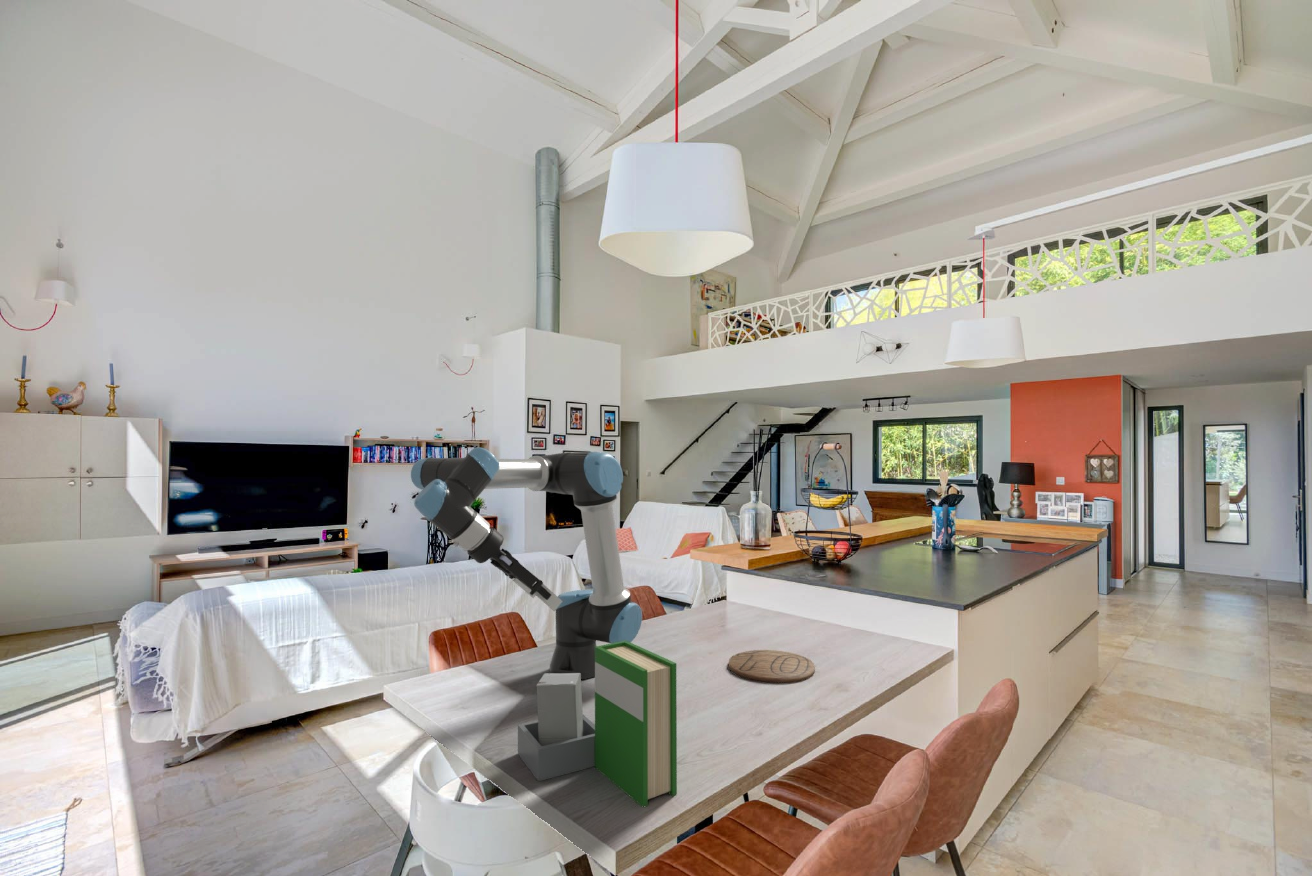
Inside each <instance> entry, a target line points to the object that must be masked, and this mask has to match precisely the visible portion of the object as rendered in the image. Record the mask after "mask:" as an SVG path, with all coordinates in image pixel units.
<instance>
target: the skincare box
mask: <svg viewBox="0 0 1312 876" xmlns="http://www.w3.org/2000/svg"><path fill="white" fill-rule="evenodd" d="M535 687H536V703H537V720H538V733H539V744H540V745H541V746H545V745H549V744H554V743H558V742H562V741H566V740H570V739H574V738H579V737H583V715H584V714H583V698H582V697H583V696H582V695H583V694H582V680H581V673H550V672H549V673H546V672H545V673H543V675H542V676H541V678H539V680H538V682H537V684H536V685H535Z"/></svg>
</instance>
